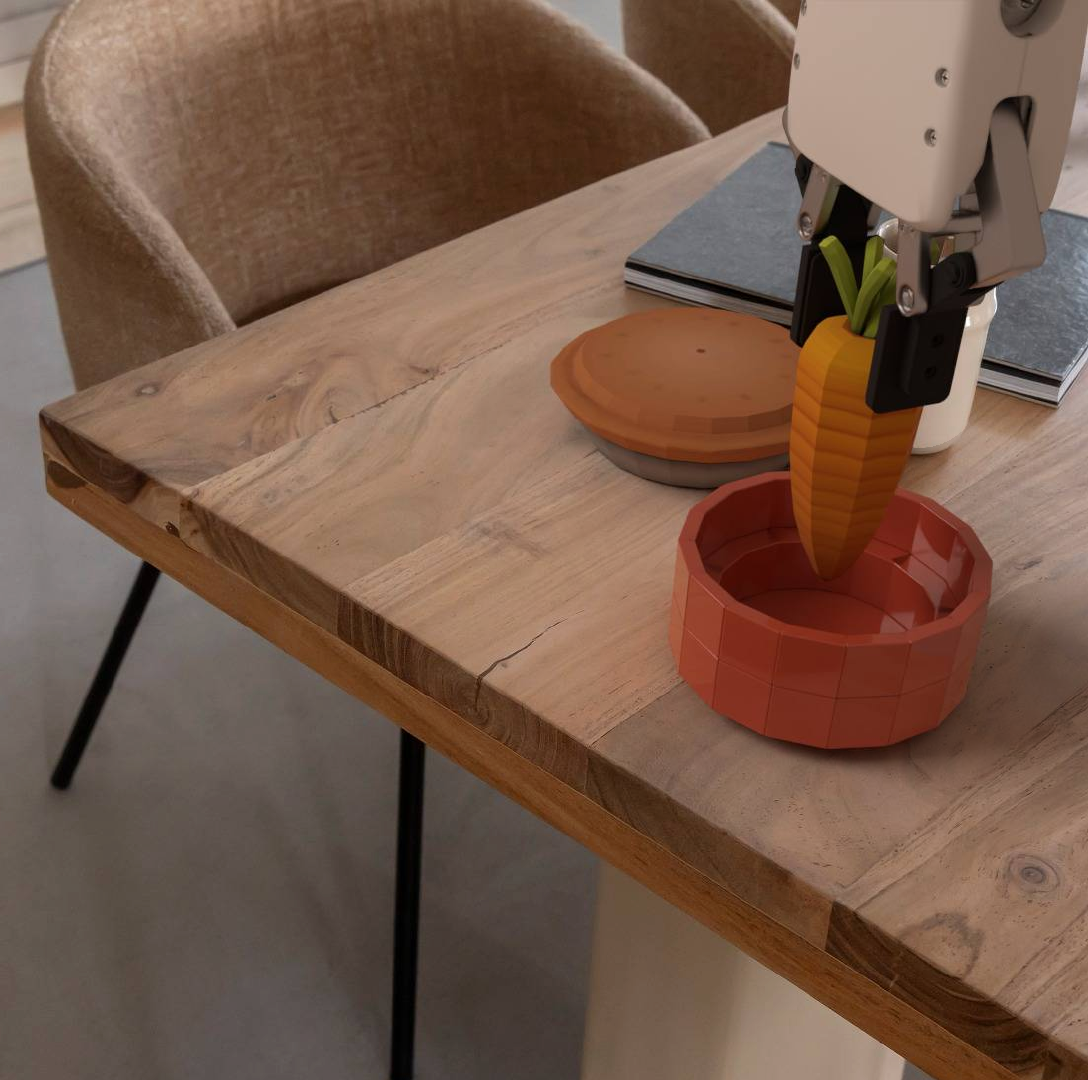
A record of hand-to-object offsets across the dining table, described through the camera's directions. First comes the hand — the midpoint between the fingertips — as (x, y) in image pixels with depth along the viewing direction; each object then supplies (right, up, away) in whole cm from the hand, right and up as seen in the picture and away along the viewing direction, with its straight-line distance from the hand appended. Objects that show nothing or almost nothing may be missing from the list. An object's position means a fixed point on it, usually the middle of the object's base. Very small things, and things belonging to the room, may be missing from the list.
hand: (866, 366), depth 54 cm
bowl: (0, -11, +8) cm, 14 cm away
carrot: (0, -8, +6) cm, 10 cm away
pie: (-3, 0, +24) cm, 25 cm away
